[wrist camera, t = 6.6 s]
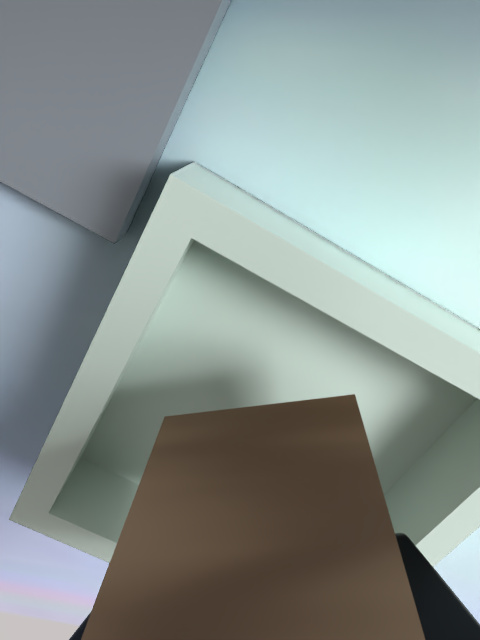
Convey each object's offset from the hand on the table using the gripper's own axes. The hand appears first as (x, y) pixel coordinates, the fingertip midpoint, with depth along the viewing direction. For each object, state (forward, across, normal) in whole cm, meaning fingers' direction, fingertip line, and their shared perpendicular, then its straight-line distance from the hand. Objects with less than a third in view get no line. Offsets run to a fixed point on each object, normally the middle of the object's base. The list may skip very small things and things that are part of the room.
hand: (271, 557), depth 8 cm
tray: (+5, 0, 0) cm, 5 cm away
